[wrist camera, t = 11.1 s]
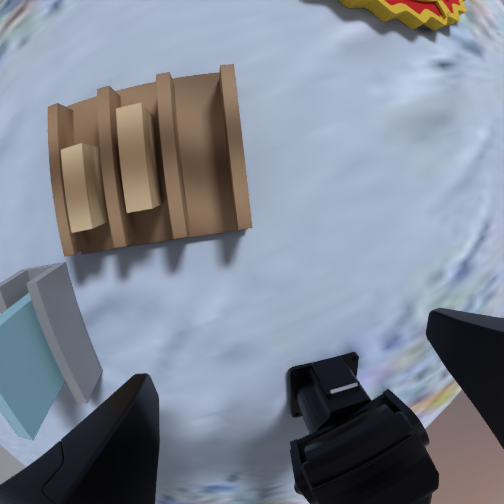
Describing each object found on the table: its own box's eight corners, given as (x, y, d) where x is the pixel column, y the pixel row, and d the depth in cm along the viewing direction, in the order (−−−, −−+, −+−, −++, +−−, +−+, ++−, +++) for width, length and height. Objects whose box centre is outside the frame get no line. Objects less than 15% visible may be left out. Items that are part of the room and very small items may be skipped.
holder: (102, 370, 21) (87, 403, 17) (59, 369, 20) (41, 399, 16) (65, 262, 18) (36, 282, 14) (22, 269, 18) (-8, 288, 14)
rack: (247, 227, 20) (253, 236, 17) (83, 252, 18) (66, 264, 16) (229, 74, 17) (232, 57, 14) (67, 108, 16) (48, 100, 13)
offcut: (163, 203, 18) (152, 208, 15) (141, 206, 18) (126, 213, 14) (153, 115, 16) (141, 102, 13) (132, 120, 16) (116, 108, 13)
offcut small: (112, 219, 18) (92, 228, 14) (93, 223, 18) (71, 232, 14) (103, 148, 16) (81, 143, 13) (84, 153, 16) (60, 149, 13)
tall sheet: (78, 359, 20) (33, 440, 10) (65, 359, 20) (18, 436, 10) (51, 283, 18) (-24, 347, 8) (38, 285, 18) (-37, 346, 8)
